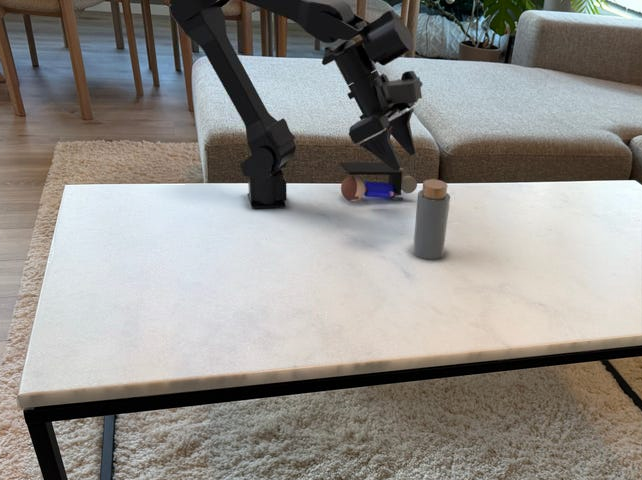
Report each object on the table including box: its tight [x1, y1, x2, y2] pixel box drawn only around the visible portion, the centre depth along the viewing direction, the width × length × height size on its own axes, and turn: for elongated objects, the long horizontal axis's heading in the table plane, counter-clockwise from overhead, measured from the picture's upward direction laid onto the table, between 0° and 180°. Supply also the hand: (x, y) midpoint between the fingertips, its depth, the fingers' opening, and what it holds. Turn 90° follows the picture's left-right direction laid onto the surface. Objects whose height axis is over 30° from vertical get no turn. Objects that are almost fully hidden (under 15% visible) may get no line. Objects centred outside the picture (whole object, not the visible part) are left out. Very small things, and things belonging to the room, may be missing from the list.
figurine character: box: [339, 161, 418, 202], centre depth 141 cm, size 7×8×15 cm
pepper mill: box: [412, 178, 451, 260], centre depth 121 cm, size 6×6×13 cm
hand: (405, 161), depth 123 cm, fingers open, 9 cm apart
